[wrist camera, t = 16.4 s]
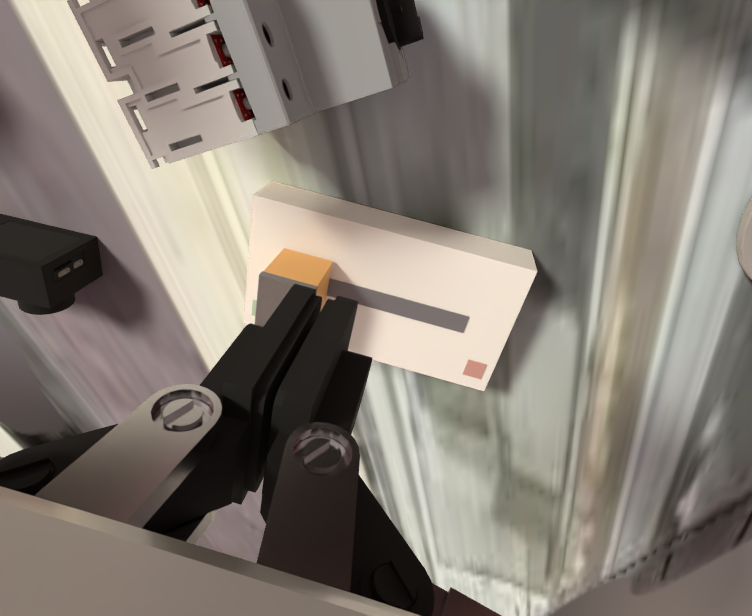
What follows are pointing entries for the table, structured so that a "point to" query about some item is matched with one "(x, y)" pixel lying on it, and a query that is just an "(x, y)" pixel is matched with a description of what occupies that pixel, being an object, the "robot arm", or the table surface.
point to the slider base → (399, 280)
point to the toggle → (290, 280)
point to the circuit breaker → (242, 63)
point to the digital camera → (45, 264)
